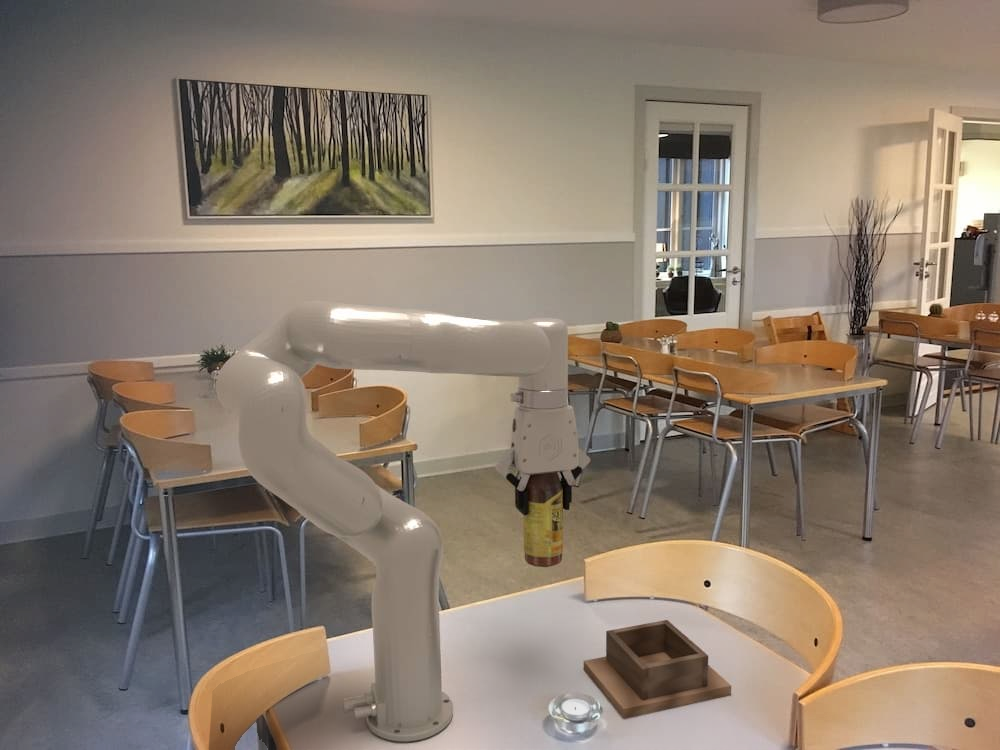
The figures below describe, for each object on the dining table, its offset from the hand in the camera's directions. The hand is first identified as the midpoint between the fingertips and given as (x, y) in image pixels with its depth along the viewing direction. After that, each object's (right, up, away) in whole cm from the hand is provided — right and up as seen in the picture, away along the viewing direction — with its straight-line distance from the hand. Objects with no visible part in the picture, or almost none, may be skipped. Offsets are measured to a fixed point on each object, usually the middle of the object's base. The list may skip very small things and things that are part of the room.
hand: (543, 509), depth 123 cm
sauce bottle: (0, -9, +1) cm, 9 cm away
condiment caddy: (+17, -27, -2) cm, 32 cm away
